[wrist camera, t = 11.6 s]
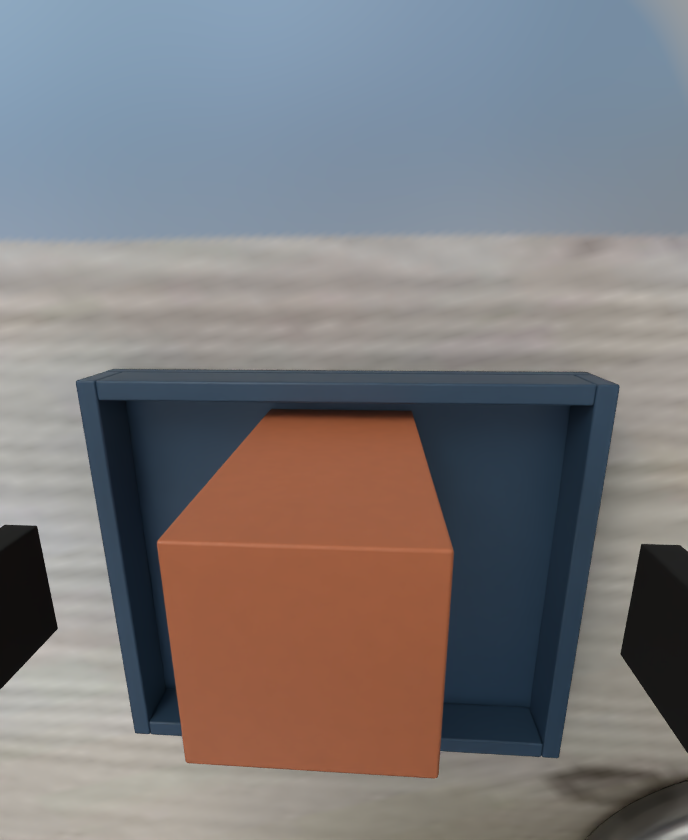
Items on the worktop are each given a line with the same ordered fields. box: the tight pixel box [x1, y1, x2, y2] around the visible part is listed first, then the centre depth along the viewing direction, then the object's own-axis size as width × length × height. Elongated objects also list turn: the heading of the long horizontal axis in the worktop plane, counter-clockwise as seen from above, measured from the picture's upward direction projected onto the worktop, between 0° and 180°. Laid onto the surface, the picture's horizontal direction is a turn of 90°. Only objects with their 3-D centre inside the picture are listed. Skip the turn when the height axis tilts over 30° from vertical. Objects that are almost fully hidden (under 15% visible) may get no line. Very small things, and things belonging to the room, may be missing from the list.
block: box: [157, 409, 454, 778], centre depth 11 cm, size 4×4×8 cm
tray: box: [76, 369, 619, 758], centre depth 16 cm, size 15×13×2 cm
